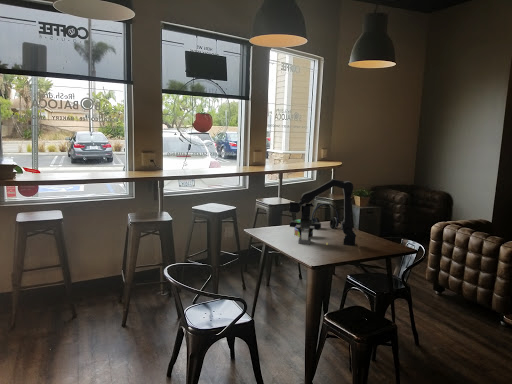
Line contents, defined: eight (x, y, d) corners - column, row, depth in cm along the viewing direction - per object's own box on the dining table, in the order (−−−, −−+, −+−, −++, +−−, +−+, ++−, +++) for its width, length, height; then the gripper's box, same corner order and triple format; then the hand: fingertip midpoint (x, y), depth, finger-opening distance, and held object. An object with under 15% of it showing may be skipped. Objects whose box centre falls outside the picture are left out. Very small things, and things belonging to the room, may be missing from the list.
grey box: (308, 238, 242) (308, 229, 242) (307, 241, 238) (308, 231, 237) (301, 238, 243) (302, 229, 242) (301, 240, 238) (301, 231, 237)
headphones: (313, 229, 278) (314, 204, 276) (309, 227, 285) (310, 202, 282) (339, 229, 282) (340, 204, 279) (335, 227, 289) (337, 202, 286)
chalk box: (305, 235, 263) (306, 213, 261) (313, 238, 255) (314, 216, 253) (293, 236, 259) (294, 214, 257) (301, 240, 251) (301, 217, 249)
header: (310, 241, 244) (310, 237, 244) (309, 244, 236) (310, 241, 235) (299, 240, 245) (299, 236, 245) (298, 244, 237) (298, 240, 237)
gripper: (289, 215, 232) (288, 240, 234) (320, 217, 228) (319, 243, 231) (291, 211, 243) (290, 236, 245) (321, 213, 239) (320, 238, 242)
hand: (304, 238), depth 240 cm, fingers closed on grey box, 4 cm apart
